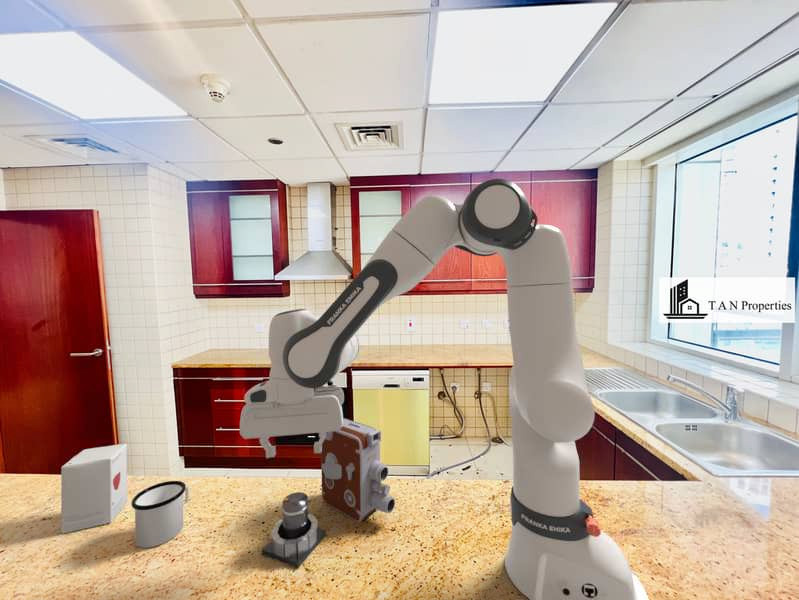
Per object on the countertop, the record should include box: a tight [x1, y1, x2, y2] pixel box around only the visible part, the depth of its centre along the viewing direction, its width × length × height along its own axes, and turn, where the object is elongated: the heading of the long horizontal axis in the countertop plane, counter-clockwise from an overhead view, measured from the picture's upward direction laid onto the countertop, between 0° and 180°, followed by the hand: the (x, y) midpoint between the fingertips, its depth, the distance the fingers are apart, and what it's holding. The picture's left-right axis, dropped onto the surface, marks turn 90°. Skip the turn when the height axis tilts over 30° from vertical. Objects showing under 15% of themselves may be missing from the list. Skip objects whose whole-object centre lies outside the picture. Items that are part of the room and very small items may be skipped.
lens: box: [281, 492, 309, 540], centre depth 66 cm, size 5×5×8 cm
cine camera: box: [320, 417, 396, 523], centre depth 76 cm, size 9×19×20 cm, turn 53°
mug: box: [130, 480, 190, 549], centre depth 70 cm, size 12×10×9 cm
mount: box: [261, 513, 327, 569], centre depth 65 cm, size 9×9×4 cm
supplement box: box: [60, 443, 128, 534], centre depth 75 cm, size 9×9×15 cm
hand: (294, 454), depth 65 cm, fingers open, 8 cm apart
